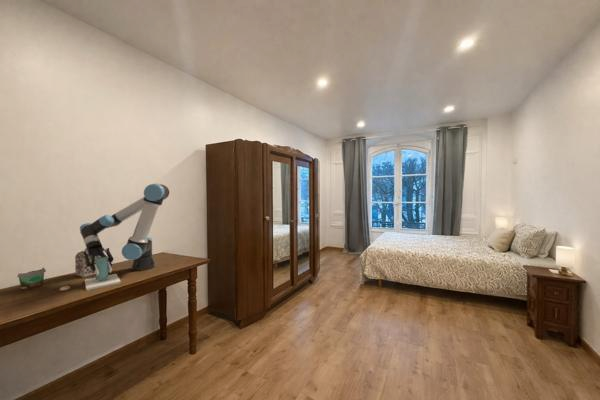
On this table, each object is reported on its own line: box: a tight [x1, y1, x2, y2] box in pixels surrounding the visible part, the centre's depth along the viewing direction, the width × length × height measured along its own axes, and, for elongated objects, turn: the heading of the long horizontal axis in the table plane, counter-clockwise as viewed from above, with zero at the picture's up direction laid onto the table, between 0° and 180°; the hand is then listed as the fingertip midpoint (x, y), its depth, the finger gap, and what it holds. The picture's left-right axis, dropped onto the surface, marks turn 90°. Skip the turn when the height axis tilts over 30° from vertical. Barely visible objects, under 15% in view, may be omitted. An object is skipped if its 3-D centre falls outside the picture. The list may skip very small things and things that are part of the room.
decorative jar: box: [74, 248, 100, 278], centre depth 168 cm, size 12×12×18 cm
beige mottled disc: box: [59, 285, 71, 292], centre depth 141 cm, size 4×4×1 cm
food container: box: [16, 267, 47, 291], centre depth 145 cm, size 12×6×10 cm, turn 168°
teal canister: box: [95, 256, 109, 280], centre depth 151 cm, size 6×6×13 cm
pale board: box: [84, 273, 122, 291], centre depth 151 cm, size 16×20×1 cm
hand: (104, 272), depth 149 cm, fingers closed on teal canister, 6 cm apart
